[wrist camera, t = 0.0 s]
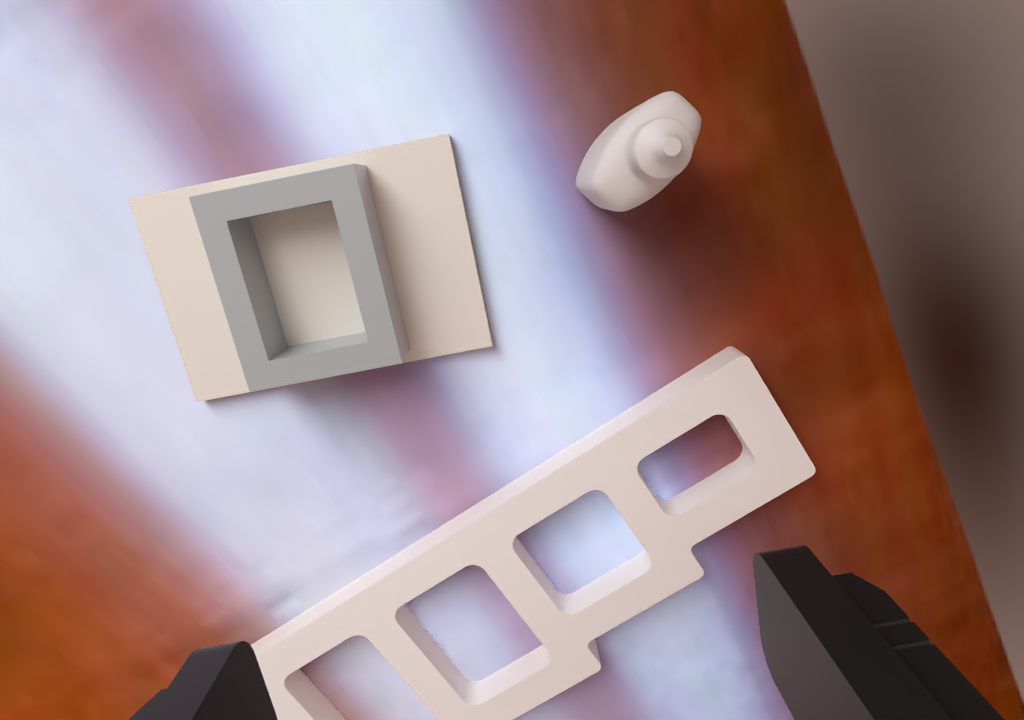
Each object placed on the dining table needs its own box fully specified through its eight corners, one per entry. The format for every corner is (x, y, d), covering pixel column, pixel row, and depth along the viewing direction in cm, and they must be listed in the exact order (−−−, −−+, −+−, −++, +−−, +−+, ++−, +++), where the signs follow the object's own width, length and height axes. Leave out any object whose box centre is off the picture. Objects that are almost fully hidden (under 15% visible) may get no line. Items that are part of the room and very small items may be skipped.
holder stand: (136, 198, 37) (92, 200, 33) (449, 135, 36) (443, 129, 32) (202, 397, 40) (170, 420, 36) (492, 342, 39) (491, 360, 35)
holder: (730, 341, 40) (745, 352, 37) (860, 557, 44) (883, 581, 41) (171, 691, 46) (151, 722, 43) (330, 852, 50) (320, 889, 47)
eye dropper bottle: (679, 178, 37) (758, 175, 25) (584, 214, 37) (620, 228, 26) (655, 100, 36) (727, 60, 24) (558, 138, 36) (583, 117, 25)
